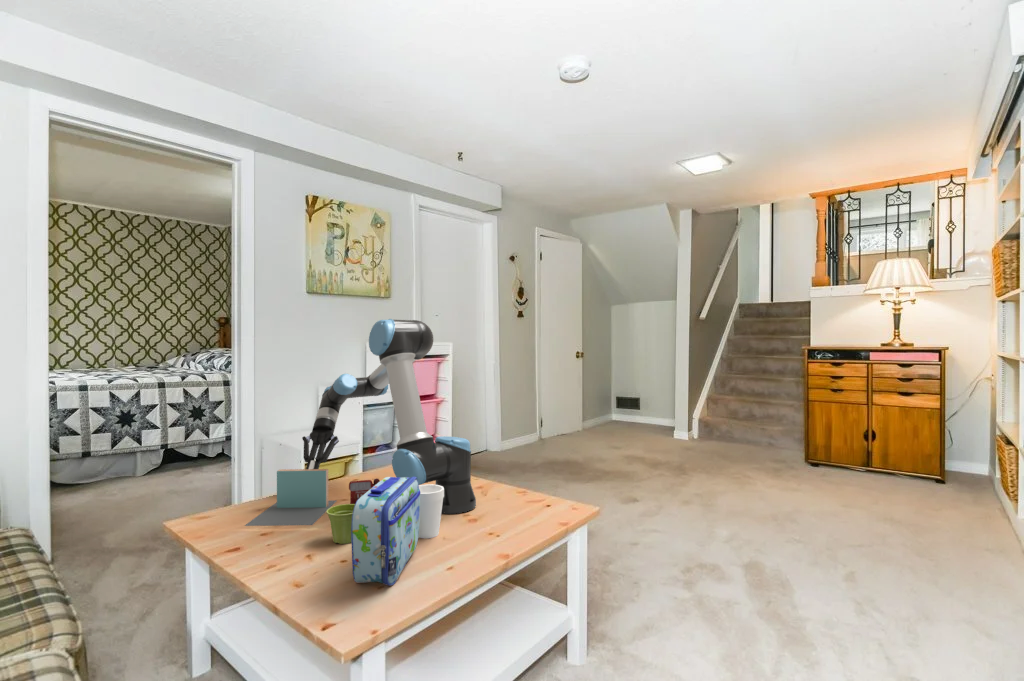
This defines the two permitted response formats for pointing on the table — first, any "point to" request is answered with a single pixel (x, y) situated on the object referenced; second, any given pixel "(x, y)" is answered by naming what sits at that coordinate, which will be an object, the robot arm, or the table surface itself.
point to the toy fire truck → (360, 489)
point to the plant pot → (341, 522)
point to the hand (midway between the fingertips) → (309, 478)
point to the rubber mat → (289, 516)
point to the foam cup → (430, 510)
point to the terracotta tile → (302, 488)
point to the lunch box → (385, 529)
